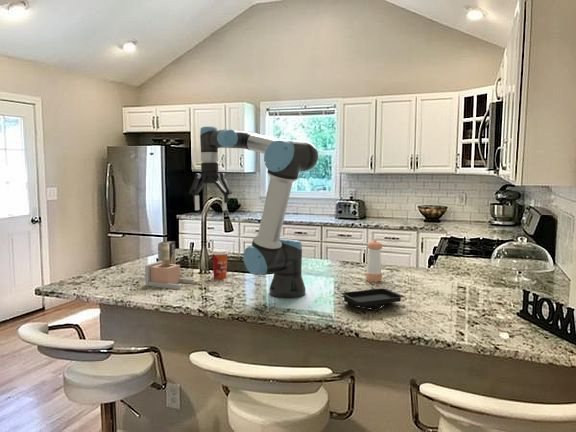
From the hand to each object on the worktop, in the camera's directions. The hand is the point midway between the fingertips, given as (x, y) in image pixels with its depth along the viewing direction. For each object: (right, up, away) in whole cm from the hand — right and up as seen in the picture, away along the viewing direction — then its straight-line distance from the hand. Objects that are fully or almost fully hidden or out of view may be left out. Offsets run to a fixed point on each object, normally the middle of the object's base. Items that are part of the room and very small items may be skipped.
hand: (210, 210), depth 210 cm
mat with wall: (-16, -33, +2) cm, 37 cm away
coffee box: (-25, -32, +21) cm, 46 cm away
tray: (+67, -37, -28) cm, 82 cm away
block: (-20, -33, -1) cm, 38 cm away
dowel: (-20, -29, -1) cm, 35 cm away
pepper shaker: (+75, -33, +13) cm, 83 cm away
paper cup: (+2, -33, +12) cm, 35 cm away
